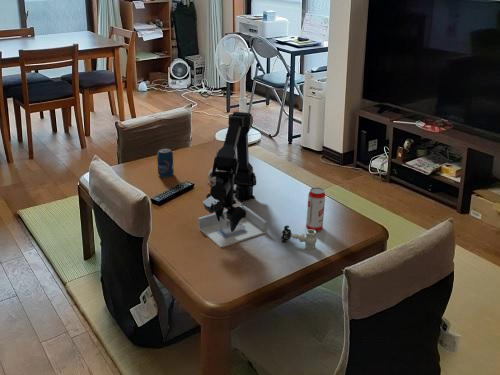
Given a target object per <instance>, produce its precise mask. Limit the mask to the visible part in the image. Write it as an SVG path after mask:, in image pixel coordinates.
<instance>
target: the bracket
mask: <svg viewBox="0 0 500 375" xmlns="http://www.w3.org/2000/svg"><path fill="white" fill-rule="evenodd" d="M226 217H227V215H222V216H220V231H221V232H222V233H223V234H225V235H226V236H229V235H233V234H236V233H239V232H242V231H245V226H243V225H242V224H241V223H238V225H237V227H236V228H235V230H234V231H233V232H231V229H230V220H229V219H227V218H226Z"/></svg>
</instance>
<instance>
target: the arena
mask: <svg viewBox="0 0 500 375" xmlns="http://www.w3.org/2000/svg"><path fill="white" fill-rule="evenodd" d="M239 206H240V207H241V208H242V209H244V210H245V211H246V217H245V218H242V219H241V220H240V221H239V223H241V224H242V225H243V226H245V231H242V232H239V233H236V234H233V235H229V236H226V235H225V234H223V233H222V232H221V231H220V221H218V219H217V217H216V214H215V212H213V213H209V214H207V215H204V216H200V217H197V218H198V219H197V220H198V230H199V231H200V232H202V233H203V234H204V235H205V236H206V237H208V239H210V240H211V241H212V242H213V243H215V245H216V246H218V247H219V248H223V247H227V246H231V245H233V244H236V243H239V242H242V241H245V240H249V239H252V238H254V237H258V236H261V235H265V234H266V233H267V232H268V221H267V220H265V219H264V218H263V217H261V216H259V214H257V213H256V212H255V211H253V210H252V209H250V208H249V207H247V206H246V205H245V204H242V205H239ZM227 211H228V210H227V209H224V210H223V215H226V212H227Z"/></svg>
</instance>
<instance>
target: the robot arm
mask: <svg viewBox="0 0 500 375" xmlns="http://www.w3.org/2000/svg"><path fill="white" fill-rule="evenodd" d="M227 121H228V123H227V124H228V127H227V130H226V131H227V132H226V134H225V139H224V143H223V146H222V147H221V148H220V149H218V151H217V152H218V153H217V156H215V157H214V160H213V165H212V168H213V171H212V177H216V181H215V183H214V184H213V186H211V187H210V190H209V193H207V195H206V198H205V199H204V200H202V204H203V206H204V209H205V210H206V211H207V212H208V213H209V214H213V213H215V214H216V217H217V219H218V221H220V216H222V215H223V211H224V210H228V211H227V212H226V215H227V217H226V218H227V219H229V220H230V229H231V232H233V231H234V230H235V228H236V227H237V225H238V223H239V221H240V220H241V219H242V218H245V217H246V211H245V210H244V209H242V208H241V207H240V206H241V205H237V206H234V205H236V204H237V200H235V198H236V199H238V200H239V201H241V202H246V201H249V200H252V199H253V200H254V199H255V198H256V196H255V195H254V187H255V186H257V176H256V173H255V172H254V167H253V166H252V164H251V163H250V162H249V158H250V157H249V154H250V153H249V132H250V130H251V127H252V126H253V123H254V116H253V115H252V113H250V112H243V111H234V112H233V113H231V114H228V120H227ZM216 168H217V170H222V171H221V172H218V171H216Z"/></svg>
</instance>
